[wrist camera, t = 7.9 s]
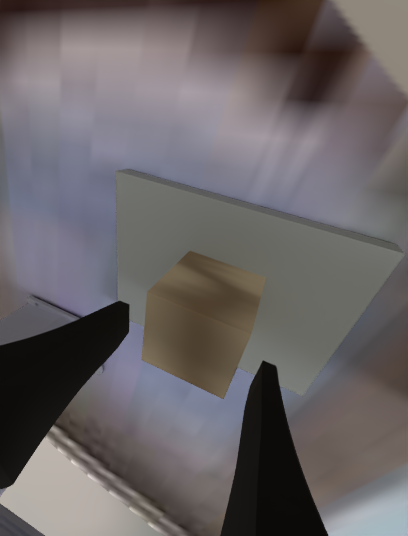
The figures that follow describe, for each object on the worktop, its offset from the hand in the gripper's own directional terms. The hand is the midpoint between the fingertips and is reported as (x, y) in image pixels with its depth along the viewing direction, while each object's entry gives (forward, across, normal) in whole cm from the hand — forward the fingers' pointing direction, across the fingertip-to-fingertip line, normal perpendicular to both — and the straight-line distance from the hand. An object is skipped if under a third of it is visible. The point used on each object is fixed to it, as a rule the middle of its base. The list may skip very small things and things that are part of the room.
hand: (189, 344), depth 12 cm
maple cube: (+5, 0, 0) cm, 5 cm away
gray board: (+6, 0, 0) cm, 6 cm away
